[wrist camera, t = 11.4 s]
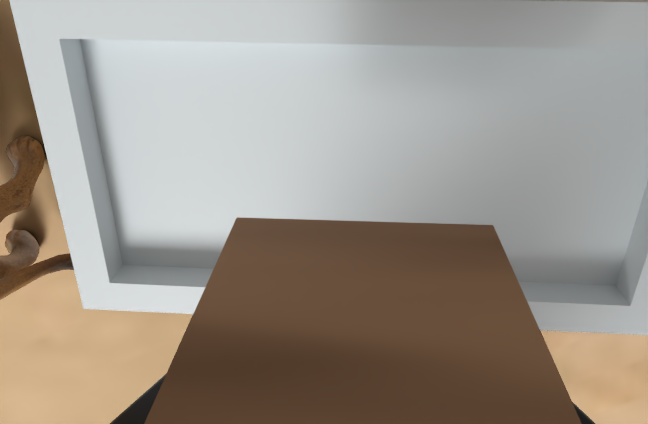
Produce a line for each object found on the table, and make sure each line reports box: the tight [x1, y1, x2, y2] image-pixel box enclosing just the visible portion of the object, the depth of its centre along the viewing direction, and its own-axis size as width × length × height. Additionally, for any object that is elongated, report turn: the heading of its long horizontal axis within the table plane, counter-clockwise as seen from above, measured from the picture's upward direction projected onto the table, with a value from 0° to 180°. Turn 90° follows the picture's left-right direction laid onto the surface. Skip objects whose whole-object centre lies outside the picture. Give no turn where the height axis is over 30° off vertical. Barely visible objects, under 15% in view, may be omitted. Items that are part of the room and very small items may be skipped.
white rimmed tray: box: [9, 0, 648, 335], centre depth 16 cm, size 9×17×4 cm, turn 90°
